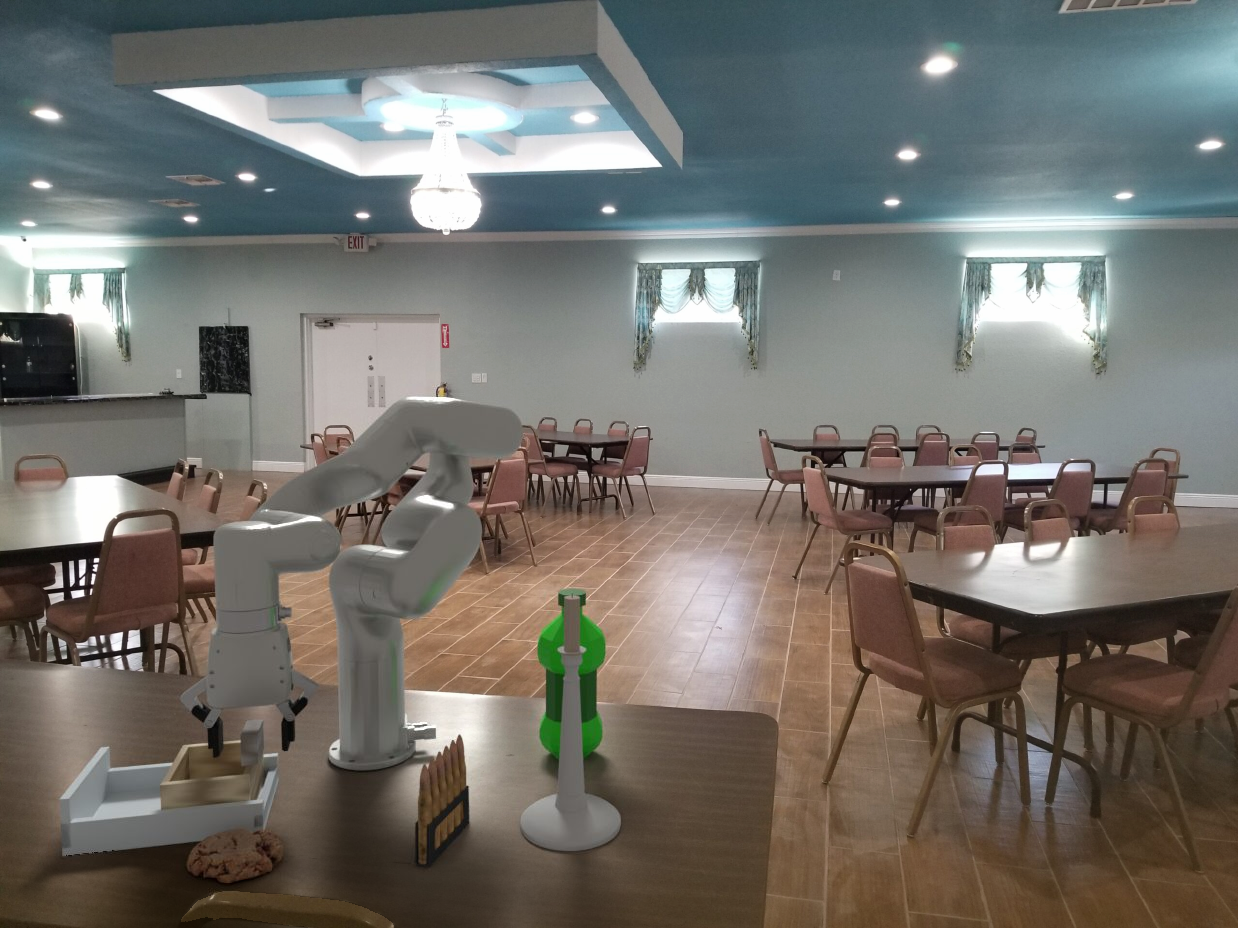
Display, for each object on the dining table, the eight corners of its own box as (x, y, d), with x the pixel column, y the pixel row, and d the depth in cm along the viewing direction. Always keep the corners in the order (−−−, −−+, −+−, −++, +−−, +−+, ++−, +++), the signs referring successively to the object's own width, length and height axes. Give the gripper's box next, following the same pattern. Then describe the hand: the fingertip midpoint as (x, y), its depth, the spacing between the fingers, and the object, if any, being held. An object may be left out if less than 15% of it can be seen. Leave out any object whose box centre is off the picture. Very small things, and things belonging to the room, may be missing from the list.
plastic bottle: (550, 736, 136) (550, 581, 134) (613, 744, 133) (615, 587, 131) (525, 763, 127) (526, 597, 124) (594, 773, 124) (595, 603, 121)
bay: (278, 780, 120) (277, 732, 120) (263, 833, 106) (261, 779, 106) (103, 797, 115) (101, 747, 114) (62, 856, 101) (59, 799, 100)
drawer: (268, 778, 119) (266, 709, 118) (255, 820, 107) (252, 745, 106) (184, 786, 116) (182, 716, 115) (161, 830, 105) (158, 753, 104)
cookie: (197, 846, 104) (196, 823, 104) (290, 837, 106) (290, 813, 106) (175, 894, 94) (174, 868, 94) (278, 882, 97) (277, 857, 96)
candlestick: (622, 800, 116) (624, 582, 113) (619, 852, 103) (622, 607, 100) (527, 798, 116) (527, 580, 113) (513, 849, 104) (513, 605, 101)
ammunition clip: (456, 820, 110) (456, 730, 109) (469, 822, 110) (469, 732, 108) (414, 865, 100) (413, 766, 99) (428, 868, 99) (427, 768, 98)
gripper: (322, 606, 116) (325, 732, 118) (181, 614, 112) (186, 744, 114) (317, 622, 109) (320, 755, 111) (166, 630, 105) (172, 769, 106)
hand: (252, 749), depth 112 cm, fingers open, 7 cm apart
